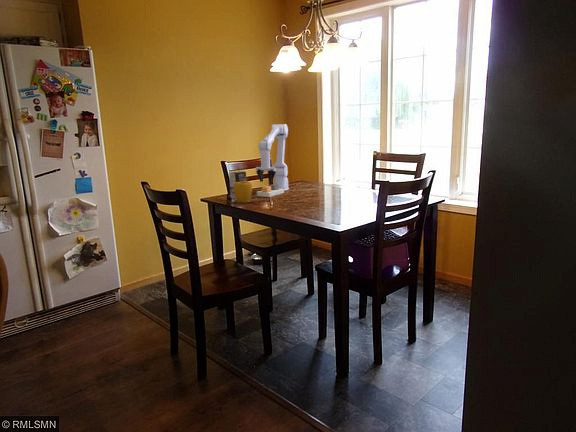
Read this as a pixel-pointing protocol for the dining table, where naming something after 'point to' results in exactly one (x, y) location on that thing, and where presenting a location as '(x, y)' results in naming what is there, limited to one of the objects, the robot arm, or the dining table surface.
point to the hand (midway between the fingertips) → (266, 182)
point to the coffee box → (236, 180)
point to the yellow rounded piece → (243, 191)
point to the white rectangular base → (274, 192)
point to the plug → (266, 189)
